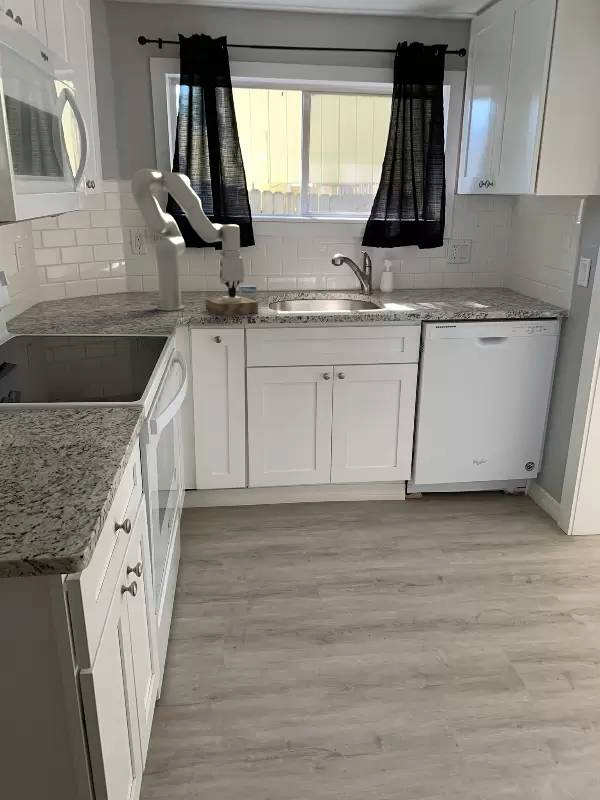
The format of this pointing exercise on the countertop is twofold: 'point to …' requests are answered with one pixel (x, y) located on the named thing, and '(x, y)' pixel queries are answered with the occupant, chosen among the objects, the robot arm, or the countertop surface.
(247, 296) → the medicine box
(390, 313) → the countertop surface
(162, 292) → the robot arm
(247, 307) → the wooden block
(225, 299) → the button
